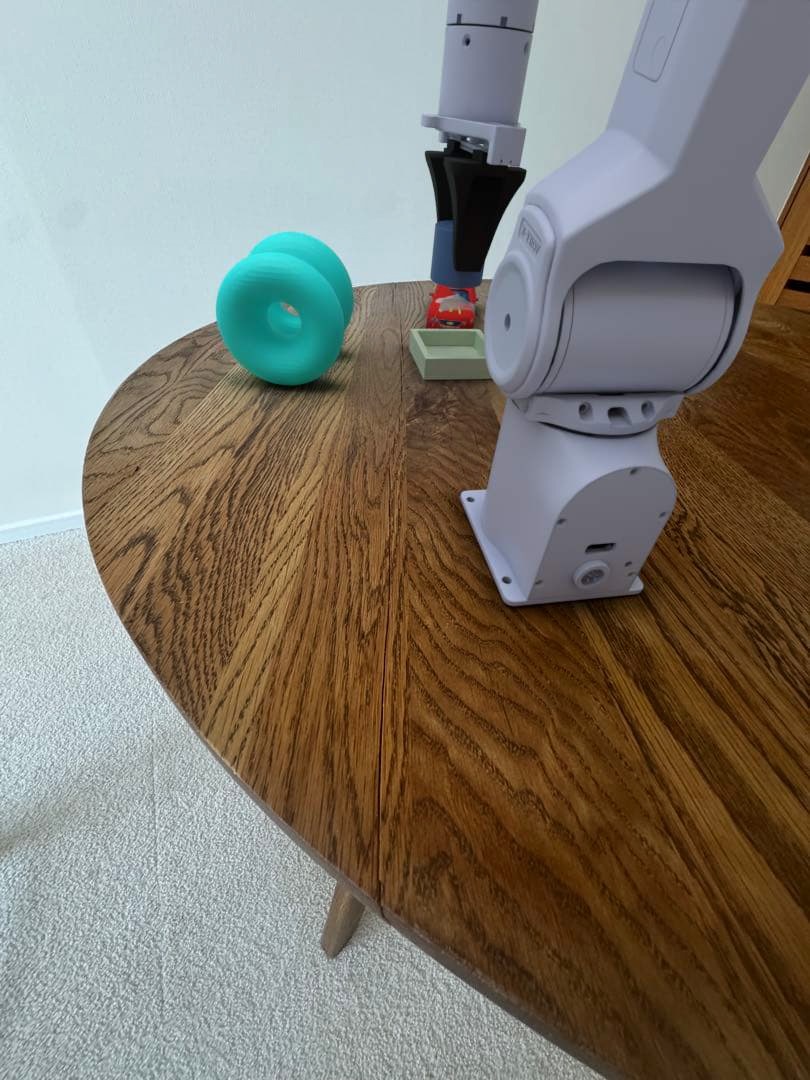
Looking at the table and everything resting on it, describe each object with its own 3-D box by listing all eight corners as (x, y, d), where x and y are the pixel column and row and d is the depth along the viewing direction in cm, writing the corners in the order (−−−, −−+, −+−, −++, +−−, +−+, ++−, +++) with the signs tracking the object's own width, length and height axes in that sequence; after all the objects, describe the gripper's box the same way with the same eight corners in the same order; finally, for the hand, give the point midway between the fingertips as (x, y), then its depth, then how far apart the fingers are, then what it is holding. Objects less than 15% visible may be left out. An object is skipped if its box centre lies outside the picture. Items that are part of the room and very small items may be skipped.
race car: (472, 344, 53) (478, 304, 50) (421, 338, 53) (424, 298, 51) (477, 304, 63) (483, 269, 60) (434, 299, 63) (438, 264, 60)
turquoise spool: (355, 349, 50) (355, 233, 43) (342, 396, 42) (341, 264, 35) (253, 341, 49) (238, 223, 43) (222, 386, 42) (198, 251, 35)
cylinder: (488, 289, 42) (497, 233, 39) (436, 287, 41) (442, 231, 38) (473, 273, 45) (481, 221, 42) (425, 272, 44) (430, 219, 41)
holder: (498, 379, 47) (502, 358, 46) (423, 380, 46) (425, 358, 44) (476, 348, 52) (479, 328, 51) (408, 348, 51) (410, 328, 49)
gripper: (408, 30, 37) (397, 239, 46) (459, 15, 27) (431, 288, 36) (498, 41, 39) (470, 242, 48) (580, 30, 28) (524, 290, 37)
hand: (459, 262), depth 42 cm, fingers closed on cylinder, 4 cm apart
